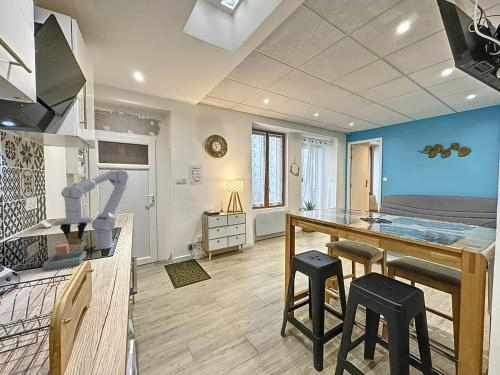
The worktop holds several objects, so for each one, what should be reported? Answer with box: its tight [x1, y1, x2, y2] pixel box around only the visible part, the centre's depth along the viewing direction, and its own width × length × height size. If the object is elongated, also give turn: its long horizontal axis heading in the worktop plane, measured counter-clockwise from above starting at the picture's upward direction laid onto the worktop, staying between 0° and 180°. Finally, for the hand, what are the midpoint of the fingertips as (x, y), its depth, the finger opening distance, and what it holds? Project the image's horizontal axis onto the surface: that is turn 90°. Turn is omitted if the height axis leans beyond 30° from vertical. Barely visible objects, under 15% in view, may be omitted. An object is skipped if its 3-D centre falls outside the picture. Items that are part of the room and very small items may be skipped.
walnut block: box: [67, 230, 82, 245], centre depth 101 cm, size 4×4×5 cm
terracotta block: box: [55, 243, 71, 255], centre depth 103 cm, size 4×4×5 cm
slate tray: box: [42, 250, 87, 272], centre depth 93 cm, size 11×12×3 cm
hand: (74, 239), depth 101 cm, fingers closed on walnut block, 4 cm apart
